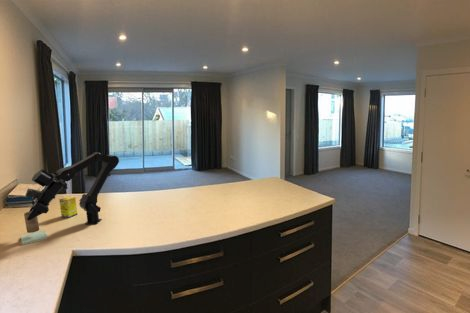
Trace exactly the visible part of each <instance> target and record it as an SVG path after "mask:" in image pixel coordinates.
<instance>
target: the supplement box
mask: <svg viewBox="0 0 470 313" xmlns="http://www.w3.org/2000/svg"><path fill="white" fill-rule="evenodd" d="M58 200H59V207H60V208H59V209H60V213H61V214H60V215H61V218H67V219H71V218H73V217H75V216H77V215H78V209H77V208H78V207H77V201H76V196H70V195H67V196H64V197H61V198H59V199H58Z"/></svg>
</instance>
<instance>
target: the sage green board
mask: <svg viewBox="0 0 470 313" xmlns="http://www.w3.org/2000/svg"><path fill="white" fill-rule="evenodd" d="M20 238H21V239H20V240H21V245H22V246H23V245H27V244H31V243H35V242H40V241H44V240H48V235H47V233H46V230H41V231H40V230H39V231H36V232H33V233H27V234H23V235H20Z"/></svg>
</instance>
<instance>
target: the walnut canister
mask: <svg viewBox="0 0 470 313" xmlns="http://www.w3.org/2000/svg"><path fill="white" fill-rule="evenodd" d="M29 211H30V210H29ZM29 211H26V212H25V213H23V216H24V222H25V226H26V227H25V228H26V232H27V234H31V233H36V232H39V231H40V226H39V225H40V224H39V219H38V218H39V217H38V216H37V217H35V218H33V219H31V220H27V218H28V216H29V215H30V213H31V211H30V212H29Z"/></svg>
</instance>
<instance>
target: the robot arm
mask: <svg viewBox="0 0 470 313" xmlns="http://www.w3.org/2000/svg"><path fill="white" fill-rule="evenodd" d="M98 161H99V162H102V163H101V168H100V169H101V170H100V171H99V173H98V175H97V176H96V178H95V180H94V182H93V184H92V186H91V188H90V189H89V191H88V192H87V193H83V194H82V195H81V198H80V199H79V207H80V208H81V209H83V210H84V211H85V212H86V222H85V223H84V225H97V224H99V223H100V222H101V221H102V218H100V217H99V213H100V212H101V207H100V206H99V205H98V204H97V203H98V196H99V194H100V191H101V190H102V188H103V186H104V185H105V182H106V181H107V179H108V177H109V175H110V173H111V172H112V171H113V170H115V169H116V167H117V166H118V165H119V163H120V159H119V157H118V156H117V155H113V154H102V153H101V152H93V153H91V155H88V156H87V157H85V158H83V159H81V160H79V161H77V162H76V163H74V164H71V165H68V166H65V167H61V168H60V169H58V170H56V172H55V171H54V172H53V173H50V172H47V170H46V169H43V168H41V169H40V170H39V171H37V172H36V173H35V174H33V176H32V178H31V181H32V182H33V183H36V184H37V185H39V186H40V187H42V189H41V190H38V189H34V188H27V190H26V192H25V197H26V198H32V200H31V204H32V205H31V207H30V208H29V211H28V212H30V211H31V213H30V215H29V216H28V218H27V220H31V219H33V218H35V217H37V218H38V217H39V216H40V215H42V214H46V215H47V213H48V212H49V211H50V209H49V205H50V203H51V202H52V201H53V200H55V199H56V196H57V195H58V193H59V192H60V191H61V190H63V188H64V189H65V190H68V183H67V182H69V181H71V180H72V179H73V178H74V177H76V176H77V174H78V173H80V172H81V171H83V170H85V169H86V168H88V167H90V166H91V165H94V164H95V163H96V162H98ZM44 187H45V188H44Z"/></svg>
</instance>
